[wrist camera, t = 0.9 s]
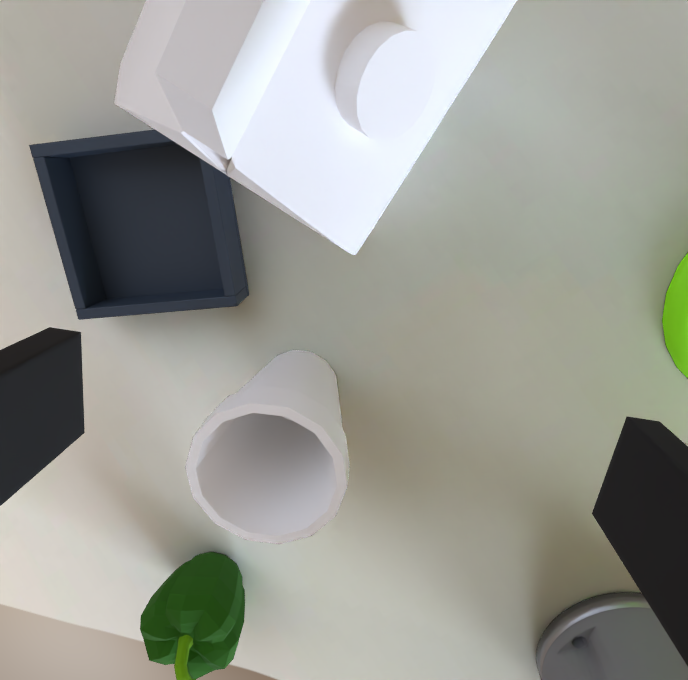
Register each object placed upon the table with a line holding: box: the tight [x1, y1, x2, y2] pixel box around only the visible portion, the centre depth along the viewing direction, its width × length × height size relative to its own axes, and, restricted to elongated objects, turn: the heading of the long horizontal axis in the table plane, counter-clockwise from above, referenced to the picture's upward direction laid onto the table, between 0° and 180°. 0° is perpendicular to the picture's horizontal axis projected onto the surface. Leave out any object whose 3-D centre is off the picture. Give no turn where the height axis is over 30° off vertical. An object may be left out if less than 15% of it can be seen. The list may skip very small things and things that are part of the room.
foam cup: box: [185, 350, 350, 544], centre depth 35 cm, size 10×9×13 cm
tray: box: [29, 130, 249, 319], centre depth 36 cm, size 12×12×4 cm
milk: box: [114, 0, 517, 255], centre depth 22 cm, size 12×12×26 cm
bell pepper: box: [140, 552, 245, 680], centre depth 43 cm, size 8×8×10 cm
